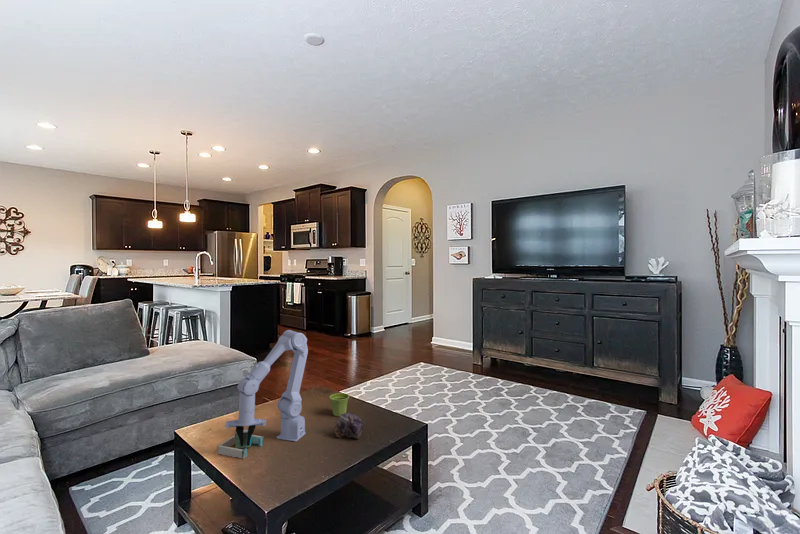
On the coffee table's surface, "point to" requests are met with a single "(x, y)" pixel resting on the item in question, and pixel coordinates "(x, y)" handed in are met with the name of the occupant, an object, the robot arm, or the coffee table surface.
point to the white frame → (235, 452)
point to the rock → (349, 426)
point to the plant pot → (339, 403)
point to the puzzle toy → (245, 438)
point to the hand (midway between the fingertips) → (245, 445)
